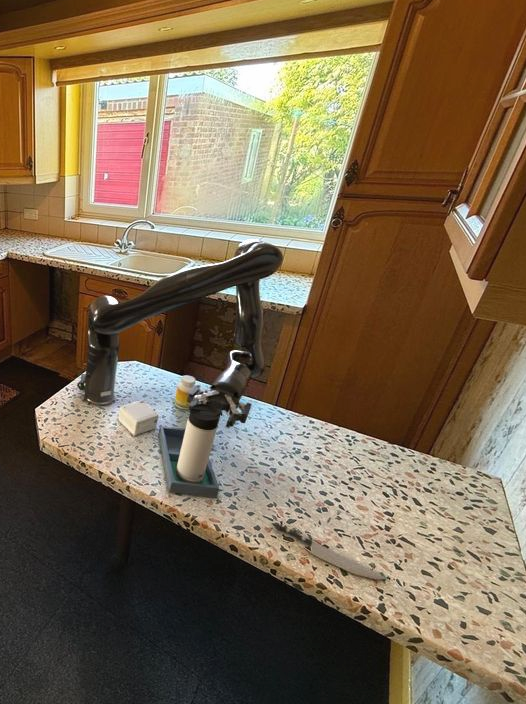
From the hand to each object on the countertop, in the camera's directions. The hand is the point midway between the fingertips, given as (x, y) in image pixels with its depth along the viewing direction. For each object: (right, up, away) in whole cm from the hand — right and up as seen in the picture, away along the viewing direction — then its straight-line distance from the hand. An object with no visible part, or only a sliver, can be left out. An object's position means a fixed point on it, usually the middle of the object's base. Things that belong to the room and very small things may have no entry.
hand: (209, 417), depth 96 cm
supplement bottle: (+4, -2, +28) cm, 28 cm away
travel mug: (-4, -15, +1) cm, 15 cm away
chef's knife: (+16, -24, -17) cm, 34 cm away
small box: (-12, -6, +19) cm, 24 cm away
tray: (-4, -13, +6) cm, 15 cm away
